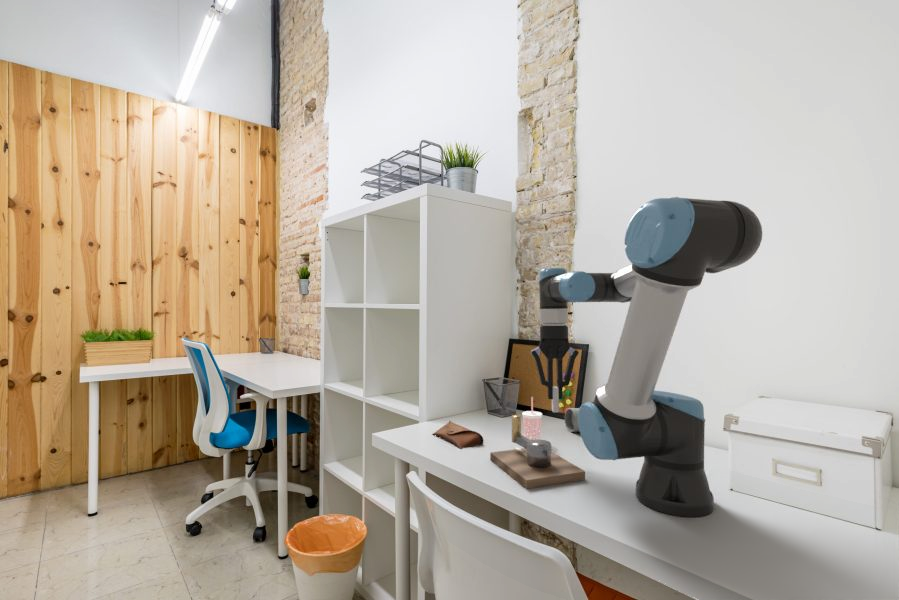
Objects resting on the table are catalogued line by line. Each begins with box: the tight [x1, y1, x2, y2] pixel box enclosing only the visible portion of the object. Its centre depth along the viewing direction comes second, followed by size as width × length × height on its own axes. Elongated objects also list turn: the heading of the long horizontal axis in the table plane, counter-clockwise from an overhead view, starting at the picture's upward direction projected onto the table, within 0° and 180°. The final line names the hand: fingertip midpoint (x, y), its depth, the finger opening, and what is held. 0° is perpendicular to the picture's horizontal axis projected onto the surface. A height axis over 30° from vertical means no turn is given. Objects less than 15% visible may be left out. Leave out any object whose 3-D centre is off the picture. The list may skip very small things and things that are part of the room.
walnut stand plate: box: [489, 446, 586, 490], centre depth 116 cm, size 20×16×2 cm
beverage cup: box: [521, 396, 543, 440], centre depth 137 cm, size 6×6×14 cm
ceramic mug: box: [564, 407, 580, 433], centre depth 151 cm, size 11×8×8 cm
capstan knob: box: [511, 414, 552, 467], centre depth 118 cm, size 15×6×9 cm, turn 22°
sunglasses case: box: [432, 420, 484, 450], centre depth 141 cm, size 18×7×7 cm, turn 34°
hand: (555, 411), depth 123 cm, fingers closed
